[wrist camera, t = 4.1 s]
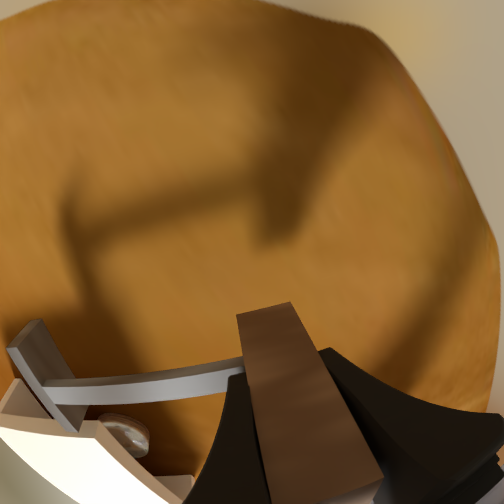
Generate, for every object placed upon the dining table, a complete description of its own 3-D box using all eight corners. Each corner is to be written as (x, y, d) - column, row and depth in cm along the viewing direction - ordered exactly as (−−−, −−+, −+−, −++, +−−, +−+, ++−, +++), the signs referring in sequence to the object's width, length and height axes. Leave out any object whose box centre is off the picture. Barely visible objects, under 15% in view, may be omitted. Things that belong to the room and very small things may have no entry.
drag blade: (284, 266, 12) (400, 442, 3) (299, 368, 14) (362, 515, 5) (30, 320, 11) (-55, 433, 3) (79, 400, 13) (39, 514, 4)
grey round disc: (134, 409, 19) (131, 427, 17) (158, 441, 20) (157, 457, 18) (87, 411, 18) (82, 427, 16) (114, 442, 20) (111, 457, 18)
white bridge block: (114, 372, 17) (94, 438, 11) (194, 477, 23) (197, 522, 17) (14, 378, 16) (-12, 423, 10) (106, 478, 22) (101, 516, 16)
